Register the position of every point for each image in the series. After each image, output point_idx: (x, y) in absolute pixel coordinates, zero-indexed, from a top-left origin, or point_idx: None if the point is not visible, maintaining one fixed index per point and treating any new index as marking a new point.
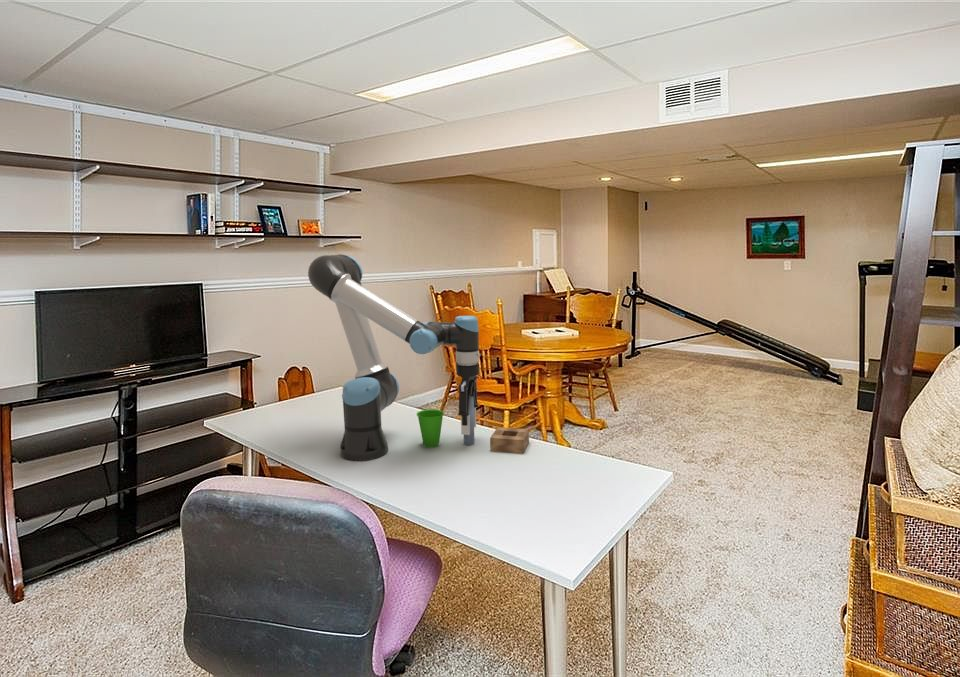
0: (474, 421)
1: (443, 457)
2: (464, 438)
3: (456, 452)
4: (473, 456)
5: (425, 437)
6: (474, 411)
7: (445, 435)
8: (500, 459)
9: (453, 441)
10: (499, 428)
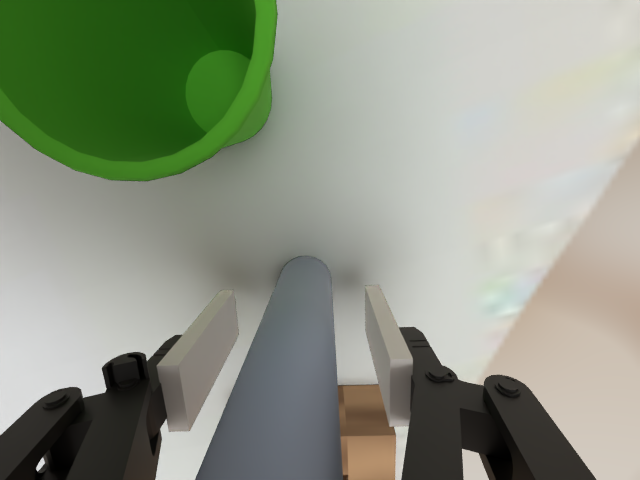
0: (371, 345)
1: (99, 224)
2: (281, 275)
3: (178, 260)
4: (162, 342)
5: (146, 67)
6: (384, 399)
7: (393, 121)
8: (172, 439)
9: (312, 198)
10: (376, 448)
